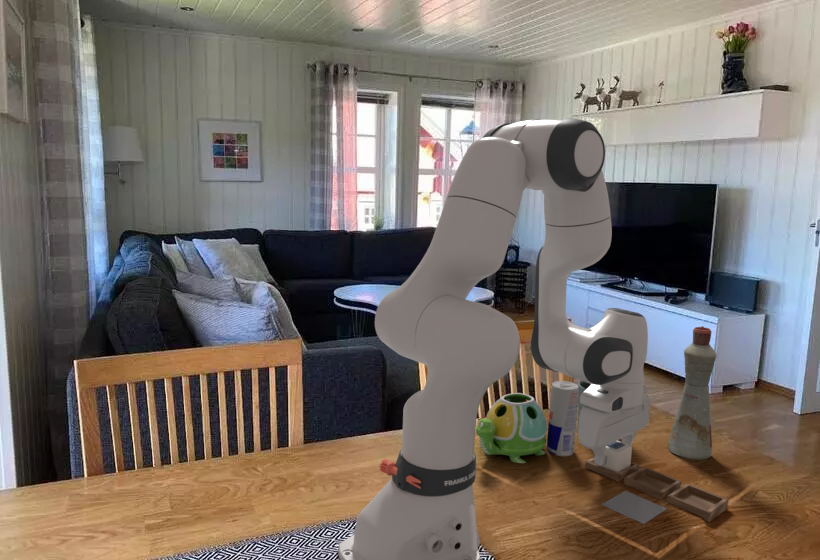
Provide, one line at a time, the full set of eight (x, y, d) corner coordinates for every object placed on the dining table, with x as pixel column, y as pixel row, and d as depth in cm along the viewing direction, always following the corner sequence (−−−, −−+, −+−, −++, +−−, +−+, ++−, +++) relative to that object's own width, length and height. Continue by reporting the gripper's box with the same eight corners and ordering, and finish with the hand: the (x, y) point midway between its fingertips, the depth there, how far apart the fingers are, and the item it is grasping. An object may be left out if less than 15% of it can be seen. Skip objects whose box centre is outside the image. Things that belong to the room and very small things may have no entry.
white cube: (616, 477, 122) (618, 451, 121) (593, 467, 125) (595, 442, 125) (629, 469, 125) (632, 445, 124) (607, 460, 129) (609, 436, 128)
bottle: (657, 450, 136) (670, 323, 132) (682, 442, 141) (696, 319, 136) (694, 466, 129) (709, 332, 124) (719, 457, 134) (735, 328, 129)
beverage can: (571, 448, 136) (576, 381, 133) (575, 459, 130) (581, 389, 128) (544, 446, 136) (549, 379, 134) (547, 457, 131) (553, 387, 128)
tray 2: (660, 502, 114) (661, 493, 114) (623, 486, 119) (624, 477, 119) (680, 490, 119) (681, 481, 118) (643, 475, 124) (644, 466, 124)
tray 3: (708, 522, 108) (709, 512, 107) (666, 504, 113) (667, 495, 113) (726, 508, 112) (728, 499, 112) (686, 492, 118) (687, 483, 118)
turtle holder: (454, 455, 130) (457, 399, 128) (513, 435, 142) (517, 383, 140) (498, 478, 121) (502, 419, 119) (558, 455, 132) (562, 400, 130)
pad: (643, 527, 105) (643, 523, 105) (601, 507, 111) (601, 504, 111) (666, 511, 111) (667, 508, 111) (625, 493, 117) (625, 490, 116)
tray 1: (618, 484, 120) (619, 475, 120) (584, 469, 126) (585, 461, 125) (638, 473, 125) (639, 464, 125) (605, 459, 130) (605, 451, 130)
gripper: (631, 376, 132) (626, 439, 134) (574, 397, 118) (569, 466, 121) (660, 384, 127) (654, 449, 129) (604, 406, 114) (598, 478, 116)
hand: (612, 458), depth 125 cm, fingers open, 7 cm apart
